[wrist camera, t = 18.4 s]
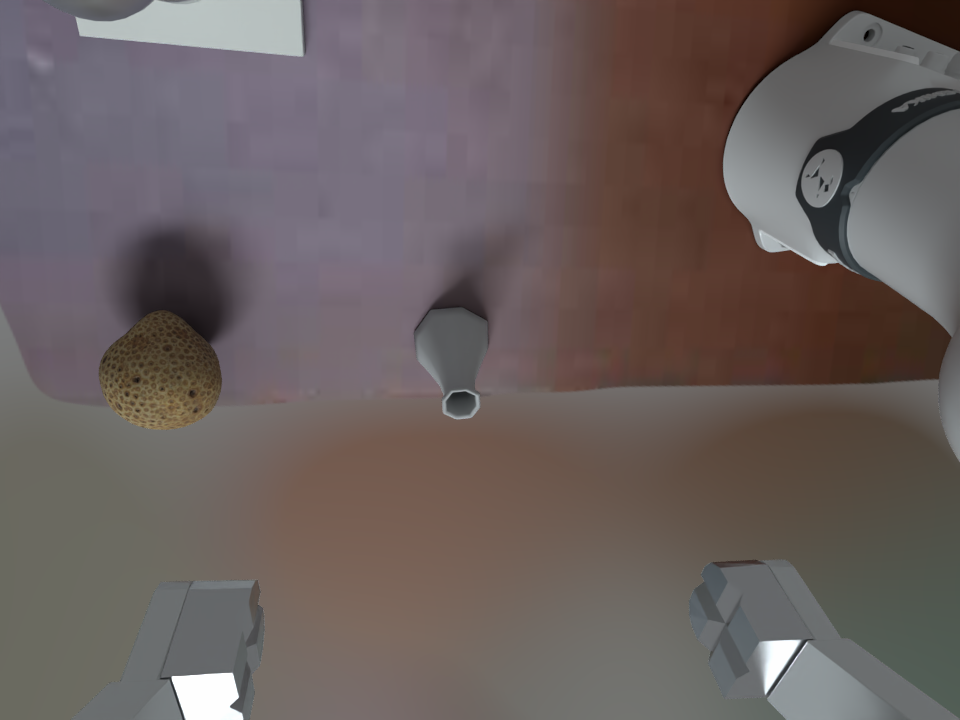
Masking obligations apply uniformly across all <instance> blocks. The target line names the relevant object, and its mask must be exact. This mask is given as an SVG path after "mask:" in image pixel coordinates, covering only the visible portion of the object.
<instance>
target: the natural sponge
mask: <svg viewBox="0 0 960 720" xmlns="http://www.w3.org/2000/svg"><path fill="white" fill-rule="evenodd" d="M99 380H100V385H101V388H102V392H103V395H104V397H105V399H106V401H107V402H108V404H109V405H110V407H111V408H112V409H113V410H114V411H115V412H116V413H117V414H118V415H119V416H121V417H122V418H124V419H125V420H127V421H129V422H131V423H132V424H135V425H137V426H140V427H144V428H149V429H161V430H165V429H166V430H168V429H176V428H181V427H185V426H187V425H190V424H192V423H194V422H196V421H198V420H200V419H202V418H203V417H205V416H206V415H207V414H208V413H209V412H211V411H212V409H213V408H214V406H215V404H216V402H217V400H218V398H219V395H220V392H221V384H222V377H221V371H220V366H219V361H218V358H217V355H216V353H215V351H214V350H213V348H212V347H211V345H210V344H209V343H208V342H207V341H206V340H205V339H204V338H203V337H202V336H200V335H199V334H198V333H197V332H195V331H194V330H193V328H192V327H191V326H189V325H188V324H187V323H186V322H185V321H184V320H183V319H182V318H181V317H179V316H178V315H176V314H174V313H172V312H170V311H166V310H158V311H155V312H152V313H150V314H148V315H146V316H145V317H144V318H142V319H141V320H140V321H139V322H138V323H136V324H135V325H134V326H133V327H132V328H131V329H130V330H129V331H128V332H127V333H126V334H125V335H124V336H122V337H121V338H120V339H118V340H117V341H116V342H115V343H113V344H112V345H111V346H110V347H109V349H108V350H107V351H106V352H105V354H104V355H103V358H102V360H101V363H100V367H99Z"/></svg>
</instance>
